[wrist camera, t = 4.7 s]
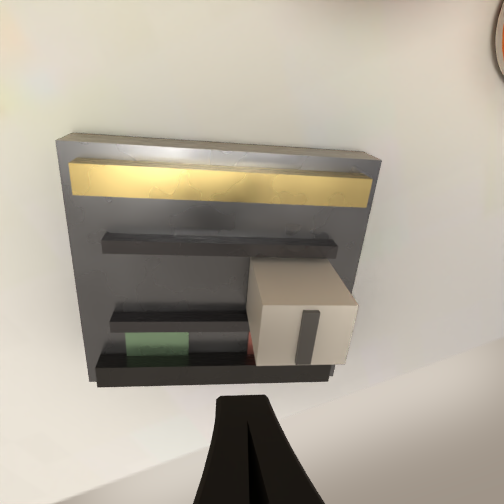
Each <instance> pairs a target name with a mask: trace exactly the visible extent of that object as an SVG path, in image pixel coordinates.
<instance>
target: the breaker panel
mask: <svg viewBox="0 0 504 504" xmlns="http://www.w3.org/2000/svg"><path fill="white" fill-rule="evenodd" d="M55 141H56V148H57V155H58V162H59V169H60V176H61V184H62V191H63V198H64V205H65V212H66V219H67V226H68V233H69V240H70V247H71V254H72V262H73V269H74V276H75V283H76V290H77V297H78V304H79V311H80V318H81V325H82V332H83V340H84V347H85V354H86V361H87V368H88V375H89V382H97V387H131V386H170V385H209V384H248V383H287V382H326V381H328V379H329V376H333V373H334V369H335V364H334V365H282V366H256V362H255V356H254V350H253V345H252V339H251V333H250V328H249V322H248V316H247V311H246V302H247V291H248V279H249V268H250V257H275V258H320V259H328V260H329V262H330V263H331V265H332V266H333V268H334V269H335V271H336V272H337V274H338V275H339V277H340V278H341V280H342V281H343V283H344V284H345V286H346V287H347V289H348V290H349V292H350V293H351V294H352V289H353V285H354V280H355V276H356V272H357V267H358V263H359V258H360V254H361V250H362V245H363V241H364V236H365V232H366V228H367V223H368V219H369V214H370V210H371V206H372V201H373V197H374V192H375V188H376V184H377V179H378V175H379V170H380V166H381V162H382V160H380V159H378V158H376V157H374V156H372V155H369V154H367V153H365V152H360V151H345V150H329V149H314V148H298V147H283V146H267V145H252V144H237V143H221V142H206V141H190V140H175V139H159V138H144V137H128V136H113V135H98V134H82V133H71V134H69V135H66V136H64V137H62V138H59V139H57V140H55Z"/></svg>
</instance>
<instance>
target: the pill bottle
mask: <svg viewBox="0 0 504 504" xmlns="http://www.w3.org/2000/svg"><path fill="white" fill-rule="evenodd" d="M495 46H496V54H497V60H498V64H499V67H500V70H501V72H502V74H503V75H504V3H503V5H502V8H501V11H500V14H499V18H498V23H497V28H496V36H495Z"/></svg>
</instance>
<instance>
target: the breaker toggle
mask: <svg viewBox="0 0 504 504" xmlns="http://www.w3.org/2000/svg"><path fill="white" fill-rule="evenodd" d="M358 307H359V305H358V304H357V302H356V301H355V299H354V298H353V296H352V295H351V293H350V292H349V290H348V289H347V287H346V286H345V284H344V283H343V281H342V280H341V278H340V277H339V275H338V274H337V272H336V271H335V269H334V268H333V266H332V265H331V263H330V262H329V260H328V259H320V258H275V257H250V268H249V279H248V291H247V302H246V311H247V316H248V322H249V328H250V333H251V339H252V345H253V350H254V356H255V362H256V366H282V365H334V364H345V361H346V357H347V353H348V349H349V345H350V340H351V336H352V332H353V328H354V324H355V320H356V315H357V311H358Z"/></svg>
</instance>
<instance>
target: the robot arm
mask: <svg viewBox="0 0 504 504" xmlns="http://www.w3.org/2000/svg"><path fill="white" fill-rule="evenodd" d="M193 504H325V503H324V502H323V500H322V498H321V497H320V495H319V494H318V492H317V491H316V489H315V487H314V486H313V484H312V482H311V481H310V479H309V477H308V476H307V474H306V473H305V471H304V469H303V467H302V465H301V464H300V462H299V461H298V459H297V457H296V455H295V454H294V451H293V449H292V448H291V446H290V444H289V442H288V440H287V438H286V436H285V434H284V432H283V430H282V428H281V426H280V424H279V422H278V420H277V418H276V416H275V413H274V411H273V409H272V406H271V404H270V401H269V399H268V397H267V396H266V395H237V396H220V397H219V398H217V399H216V416H215V424H214V430H213V435H212V440H211V444H210V448H209V452H208V456H207V460H206V463H205V467H204V471H203V474H202V478H201V481H200V484H199V487H198V490H197V494H196V496H195V499H194V503H193Z"/></svg>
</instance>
